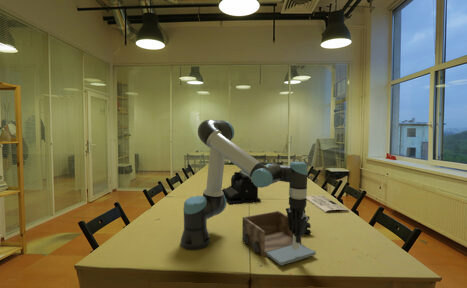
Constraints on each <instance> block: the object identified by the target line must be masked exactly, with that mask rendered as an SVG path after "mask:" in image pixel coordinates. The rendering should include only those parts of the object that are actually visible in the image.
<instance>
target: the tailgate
mask: <svg viewBox="0 0 467 288" xmlns="http://www.w3.org/2000/svg"><path fill="white" fill-rule="evenodd" d="M266 255H267V256H266V257H269V258H270V259H271V260H273V262H276V263H277V264H278V265H279V266H283V265H286V264H292V263H295V262H298V261H301V260H304V259H305V258H310V257H311V256H315V255H317V252H316V251H315V250H313V249H311V248H309V247H307V246H306V245H303V244H302V243H301V244H300V243H299V249H296V250H294V249H293V248H292V245H290V246H287V247H283V248H280V249H276V250H272V251H269V252H266Z"/></svg>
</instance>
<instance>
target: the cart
mask: <svg viewBox="0 0 467 288" xmlns="http://www.w3.org/2000/svg"><path fill="white" fill-rule="evenodd" d="M241 236H242V238H241V239H242V240H243V243H244V244H245V245H248V246H249V247H250V248H252V250H253V253H255V254H259V255H260V256H261V257H262V256H264V257H267V256H266V252H269V251H272V250H276V249H280V248H283V247H287V246H290V245H292V243H293V240H292V232H291V230H289V226H288V217H287V214H285V213H283V212H281V211H279V210H274V211H270V212H263V213H260V214H254V215H248V216H243V217H242V235H241ZM300 244H302V236H300Z"/></svg>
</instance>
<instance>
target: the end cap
mask: <svg viewBox="0 0 467 288" xmlns="http://www.w3.org/2000/svg"><path fill="white" fill-rule="evenodd" d="M311 228H312V227H311V223H310V222H307V226H306V230H305V234H304V235H303V236H311Z"/></svg>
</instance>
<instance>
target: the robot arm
mask: <svg viewBox="0 0 467 288" xmlns="http://www.w3.org/2000/svg"><path fill="white" fill-rule="evenodd" d="M197 136H198V138H199V140H200V141H201V142H202V143H203V144H204V145H205V146H206V147H208V148H210V150H209V159H208V167H207V178H206V188H205V189H204V190H203V192H202V195H195V196H191V197H188V198H187V199H185V201H184V203H183V231H182V235H181V237H180V246H181V248H183V249H185V250H189V251H195V250H196V251H197V250H201V249H202V250H203V249H204V248H206V247H208V246H209V245H210V243H211V238H210V237H211V236H210V234H209V230H208V228H207V224H208V223H207V222H208V221H207V220H209V219H210V218H213V217H214V216H217V215H219V214H221V213H222V212H224V210H225V209H226V207H227V202H226V199H225V196H224V192H223V191H222V190H223V188H222V185H223V179H224V169H225V160H226V159H227V160H228V161H229V162H231V163H232V164H233V165H234V166H236V167H237V168H238V169H240V170H243V171H244V172H245V173H246V174H248V175H249V176H250V177H252V181H253V183H254V185H255V186H257V187H258V189H259V188H260V189H261V188H262V189H263V188H266V187H269V186H270V185H273V184H275V183H277V182H283V183H284V182H285V183H289V187H288V188H289V189H288V196H289V197H288V205H289V207H288V208H285V212H286V215H287V217H288V226H289V230H291V232H292V240H293V243H292V248H293V249H294V250H296V249H299V243H300V236H301V237H303V236H305V235H304V234H305V230H306V226H307V223H309V220H310V217H311V216H309V215H307V214H306V207H307V201H308V200H307V199H306V197H307V196H308V191H307V190H308V175H309V172H308V171H309V169H308V163H306V162H303V161H291V162H290V163H289V165H284V164H278V163H277V164H276V163H267V164H265V165H264V164H263V163H262V162H261V161H259V160H258V159H256V158H255V157H254V156H252V155H251V154H249V153H248V152H246V151H245V150H244V149H243V148H241V147H240V146H238V145H237V144H235V143H234V142H233V141H232V140H233V139H234V136H235V128H234V126H233V125H232V124H231V123H230V121H226V120H219V119H217V120H215V119H207V120H203V121H202V122H201V123H200V124H199V125H198V128H197Z"/></svg>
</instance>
